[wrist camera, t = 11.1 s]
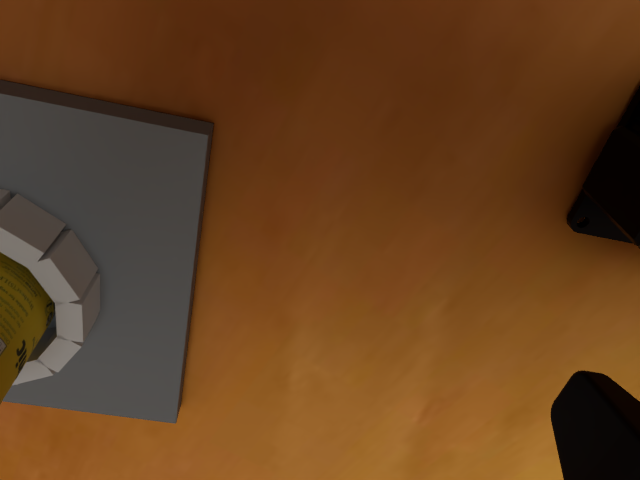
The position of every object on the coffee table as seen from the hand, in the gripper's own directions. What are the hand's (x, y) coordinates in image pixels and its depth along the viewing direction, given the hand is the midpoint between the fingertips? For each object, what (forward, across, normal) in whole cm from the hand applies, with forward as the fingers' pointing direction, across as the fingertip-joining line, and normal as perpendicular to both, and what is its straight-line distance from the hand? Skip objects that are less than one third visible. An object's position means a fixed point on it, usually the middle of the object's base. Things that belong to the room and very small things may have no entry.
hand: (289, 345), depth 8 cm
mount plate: (+13, +11, +10) cm, 20 cm away
